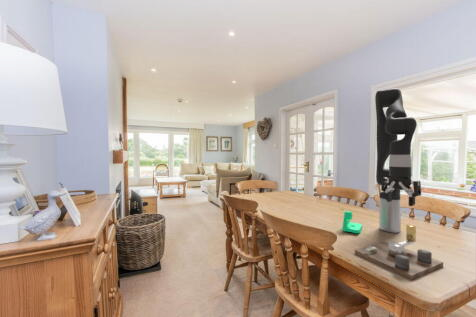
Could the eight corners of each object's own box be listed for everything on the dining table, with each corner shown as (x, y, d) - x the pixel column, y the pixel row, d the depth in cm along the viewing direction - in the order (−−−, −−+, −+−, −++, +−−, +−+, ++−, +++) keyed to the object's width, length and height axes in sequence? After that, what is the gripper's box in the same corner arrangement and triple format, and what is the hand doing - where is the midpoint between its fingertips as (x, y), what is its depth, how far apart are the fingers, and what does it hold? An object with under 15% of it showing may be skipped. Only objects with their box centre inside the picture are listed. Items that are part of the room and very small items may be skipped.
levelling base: (384, 244, 99) (384, 233, 99) (443, 266, 80) (443, 252, 80) (354, 253, 91) (354, 241, 91) (411, 280, 72) (411, 265, 72)
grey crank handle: (399, 259, 82) (399, 233, 82) (385, 253, 87) (385, 228, 86) (420, 251, 88) (420, 227, 87) (406, 246, 92) (406, 223, 92)
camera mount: (358, 235, 110) (358, 215, 110) (342, 232, 115) (342, 213, 115) (362, 228, 120) (362, 210, 119) (347, 226, 124) (347, 208, 124)
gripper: (425, 166, 85) (424, 206, 86) (388, 164, 99) (388, 199, 99) (413, 166, 83) (413, 208, 83) (377, 164, 96) (377, 201, 96)
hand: (399, 203), depth 91 cm, fingers open, 8 cm apart
